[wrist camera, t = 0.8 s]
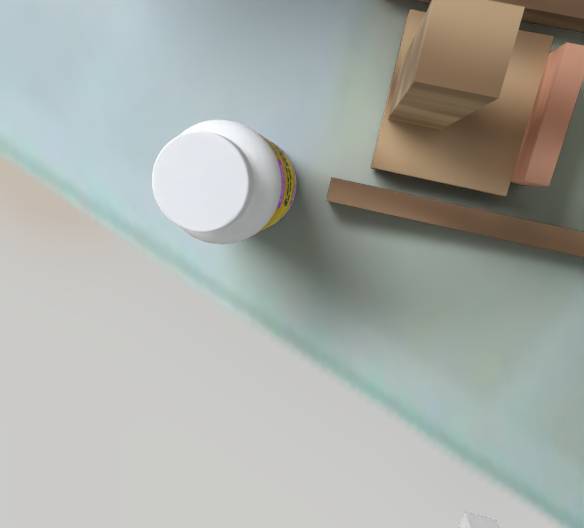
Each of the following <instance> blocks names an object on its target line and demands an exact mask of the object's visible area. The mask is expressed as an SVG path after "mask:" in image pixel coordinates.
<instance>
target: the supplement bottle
mask: <svg viewBox="0 0 584 528" xmlns="http://www.w3.org/2000/svg"><path fill="white" fill-rule="evenodd" d="M296 186H297V182H296V174H295V170H294V168H293V165H292V163H291V161H290V159H289V158H288V156H287V155H286V154H285V153H284V152H283V150H282V149H280V148H279V147H278V146H277V145H275V144H274V143H272V142H271V141H269V140H268V139H266V138H265V137H263V136H261V135H260V134H258V133H257V132H255V131H254V130H252V129H250V128H249V127H247V126H244V125H242V124H240V123H237V122H233V121H229V120H210V121H205V122H201V123H198V124H196V125H194V126H192V127H190V128H188V129H186V130H185V131H184V132H182V133H181V134H180V135H179V136H177V137H176V138H174V139H173V140H171V141H170V142H169V143H168V144H167V145H166V146H165V147H164V148H163V149H162V151H161V152H160V153H159V155H158V157H157V159H156V162H155V164H154V168H153V173H152V187H153V192H154V196H155V199H156V201H157V203H158V205H159V207H160V209H161V210H162V212H163V213H164V214H165V215H166V216H167V217H168V218H169V219H170V220H171V221H172V222H173V223H175V224H176V225H178V226H179V227H180V228H182V229H183V230H184V231H185V232H187V233H188V234H190V235H191V236H193V237H195V238H197V239H199V240H202V241H205V242H209V243H214V244H230V243H235V242H239V241H242V240H244V239H247V238H249V237H251V236H253V235H255V234H257V233H259V232H261V231H262V230H264V229H266V228H268V227H270V226H272V225H273V224H275V223H277V222H278V221H279V220H280V219H281V218H282V217H283V216H284V215H285V214H286V213H287V212H288V210H289V209H290V207H291V205H292V203H293V201H294V198H295V194H296Z"/></svg>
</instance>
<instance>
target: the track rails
mask: <svg viewBox="0 0 584 528" xmlns="http://www.w3.org/2000/svg"><path fill="white" fill-rule="evenodd" d="M414 1H419V2H425V3H431V1H432V0H414ZM490 1H496V2H501V3H506V4H512V5H517V6H523V7H525V9H524V12H523V16H522V19H521V21H526V22H531V23H536V24H542V25H547V26H552V27H558V28H563V29H568V30H574V31H579V32H584V0H490ZM326 201H330V202H335V203H339V204H344V205H348V206H353V207H358V208H362V209H367V210H371V211H376V212H380V213H385V214H389V215H394V216H398V217H403V218H407V219H412V220H417V221H421V222H426V223H430V224H435V225H439V226H444V227H448V228H453V229H457V230H462V231H466V232H471V233H476V234H480V235H485V236H489V237H494V238H498V239H503V240H507V241H512V242H516V243H521V244H525V245H530V246H535V247H539V248H544V249H548V250H553V251H557V252H562V253H566V254H571V255H575V256H580V257H584V232H581V231H577V230H572V229H568V228H563V227H558V226H554V225H549V224H545V223H540V222H535V221H531V220H526V219H521V218H517V217H512V216H508V215H503V214H498V213H494V212H489V211H485V210H480V209H475V208H471V207H466V206H461V205H457V204H452V203H448V202H443V201H438V200H434V199H429V198H425V197H420V196H415V195H411V194H406V193H402V192H397V191H392V190H388V189H383V188H378V187H374V186H369V185H365V184H360V183H355V182H351V181H346V180H342V179H337V178H332V177H331V182H330V186H329V191H328V195H327V199H326Z"/></svg>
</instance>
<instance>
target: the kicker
mask: <svg viewBox="0 0 584 528" xmlns="http://www.w3.org/2000/svg"><path fill="white" fill-rule="evenodd" d="M524 9H525V7H523V6H517V5H512V4H506V3H501V2H496V1H490V0H432V1H431V3H430V5H429V8H428V10H427V12H423V11H417V10H412V9H410V11H409V13H408V16H407V19H406V23H405V28H404V32H403V36H402V40H401V44H400V48H399V52H398V57H397V61H396V65H395V69H394V73H393V77H392V81H391V86H390V90H389V94H388V98H387V102H386V106H385V110H384V115H383V119H382V123H381V127H380V131H379V135H378V139H377V144H376V148H375V152H374V156H373V160H372V164H371V168H372V169H377V170H381V171H386V172H391V173H395V174H400V175H405V176H409V177H414V178H419V179H423V180H428V181H433V182H437V183H442V184H447V185H451V186H456V187H461V188H465V189H470V190H475V191H479V192H484V193H489V194H494V195H498V196H506V195H507V191H508V188H509V185H510V183H514V184H518V185H523V186H549V185H550V182H551V179H552V176H553V173H554V169H555V166H556V163H557V160H558V157H559V154H560V151H561V148H562V144H563V141H564V138H565V135H566V132H567V129H568V126H569V122H570V119H571V116H572V113H573V110H574V107H575V104H576V100H577V97H578V94H579V91H580V88H581V85H582V82H583V78H584V45H578V44H573V43H568V42H567V43H565V44H563V45H562V46H560V47H559V48H557V49H555V50H554V51H552V52H551V53H549V52H550V49H551V46H552V42H553V39H554V36H549V35H544V34H539V33H534V32H528V31H523V30H519V26H520V23H521V19H522V16H523V12H524Z"/></svg>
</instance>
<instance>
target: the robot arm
mask: <svg viewBox="0 0 584 528" xmlns="http://www.w3.org/2000/svg"><path fill="white" fill-rule="evenodd" d="M459 528H500V527H499V525H498V523H497V521H496V520H493V519H490V518H486V517H482V516H479V515H475V514H472V513H468V512H464V515H463V518H462V520H461V523H460V526H459Z"/></svg>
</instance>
